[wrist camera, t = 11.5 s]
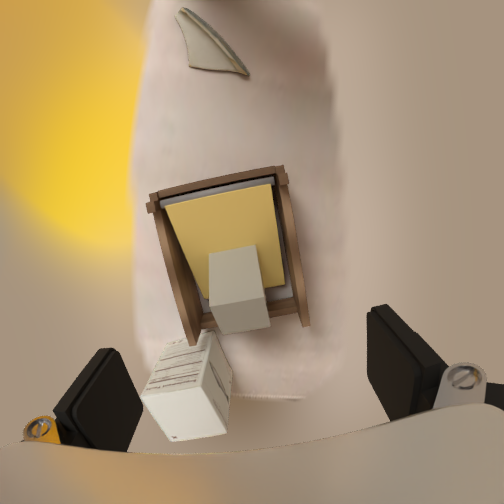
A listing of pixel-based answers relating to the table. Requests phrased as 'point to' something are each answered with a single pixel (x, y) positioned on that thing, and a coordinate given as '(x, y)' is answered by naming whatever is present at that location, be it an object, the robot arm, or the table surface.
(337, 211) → the table surface
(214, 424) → the supplement box
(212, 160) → the table surface
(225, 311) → the plain grey carton
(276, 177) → the trapdoor frame
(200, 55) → the ceramic fragment
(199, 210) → the trapdoor
